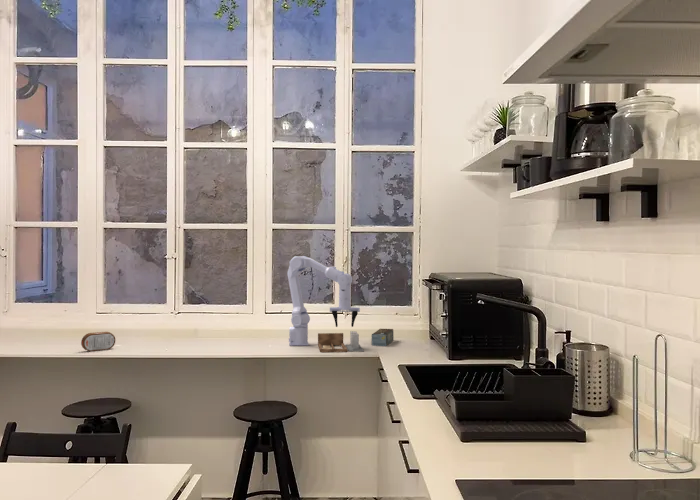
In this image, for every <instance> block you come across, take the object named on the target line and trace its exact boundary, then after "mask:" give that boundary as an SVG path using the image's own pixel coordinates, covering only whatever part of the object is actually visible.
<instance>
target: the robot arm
mask: <svg viewBox="0 0 700 500" xmlns="http://www.w3.org/2000/svg"><path fill="white" fill-rule="evenodd" d="M288 262H289V267H288V269H287V273H286V274H287V280H288V285H289V292H290V297H291V303H292V308H293V309H292V310H291V319H290V320H291V321H290V322H291V324H292V326H289V328H288V332H289V338H288V343H289V346H290V347H291V346H296V347H297V346H309V345H310V343H309V341H308V339H309V337H308V336H309V327H308V324H309V323H310V320H311V317H310V315H309V312H308V310H307V308H306V307H305V306H304V305H305V304H304V299H303V294H302V293H303V292H302V288H301V287H302V286H301V282H300V277H299V276H300V274H302V272H303V271H304V270H305V269H307V268H312V269H314V270H317V271H319V272H321V273H323V274H324V275H325V277H326V278H328V279H329V280H331V281H334V282H335V283H337V284H338V285H339V286H338V287H339V289H338V307H336V306H335V307H332V306H331V307H329V312H330V313H331V314H332V316H333V319H334V323H335V327H336V328H338V312H339V313H340V312H341V313H342V312H343V313H344V312H347V313H351V328H353V327H354V323H355V320H356V318H357V317H358V316H357V315H358V313H360V312H361V308H360V307H354V306H353V307H351V306H352V305H351V302H352V301H351V299H352V296H351V295H352V289H351V287H352V283H353V281H354V280H353V276H352V275H351V274H349V273H345V271H343V270H342V271H341V270H339V269H337V267H336V266H329V267H328V266H326V265H325V264H322V263H321V262H319V261H317V260H315V259H313V258H311V257H308V256H306V255H300V256H299V255H295V256H293V257H292V258H291V259H290V260H289V261H288Z"/></svg>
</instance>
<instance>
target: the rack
mask: <svg viewBox="0 0 700 500" xmlns="http://www.w3.org/2000/svg"><path fill="white" fill-rule="evenodd" d="M323 345H331V346H330V348H331V349H323ZM333 345H341V346H342V347H341V346H340V347H341V348H335V346H333ZM317 346H318V350H319V353H347V352H348V349H347V347H346V346H345V343H344V333H343V332H335V333H334V332H327V333H325V332H323V333H322V332H320V333H319V332H317Z"/></svg>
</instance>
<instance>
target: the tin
mask: <svg viewBox="0 0 700 500" xmlns="http://www.w3.org/2000/svg"><path fill="white" fill-rule="evenodd" d="M80 345H81V347H82V348H83V349H84V350H85V351H87V352H99V351H107V350H108V351H109V350H111V349H112V348H113V347H114V346H115V345H116V337H115V335H114V334H113V333H112V332H110V331H99V332H98V331H97V332H89V333H86V334H85V335H84V336H83V337H82V339H81V342H80Z"/></svg>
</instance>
